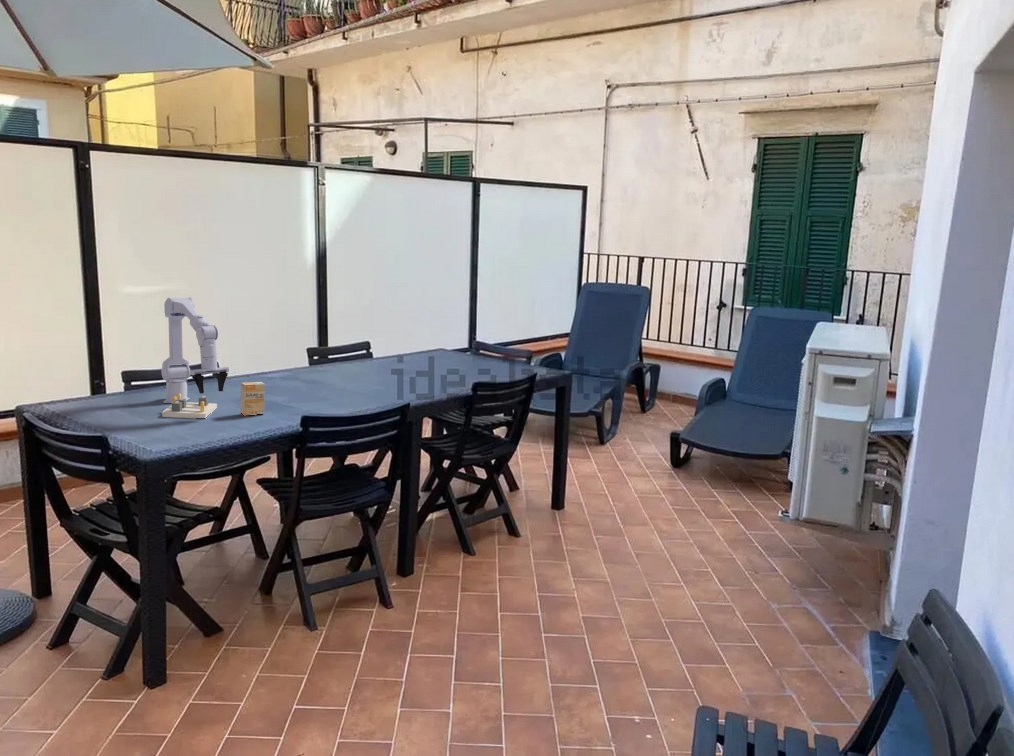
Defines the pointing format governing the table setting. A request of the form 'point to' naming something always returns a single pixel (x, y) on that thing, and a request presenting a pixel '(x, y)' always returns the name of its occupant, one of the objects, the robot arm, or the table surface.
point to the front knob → (177, 406)
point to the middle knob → (182, 402)
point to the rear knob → (204, 399)
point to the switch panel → (190, 410)
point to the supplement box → (252, 398)
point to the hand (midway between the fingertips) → (211, 392)
